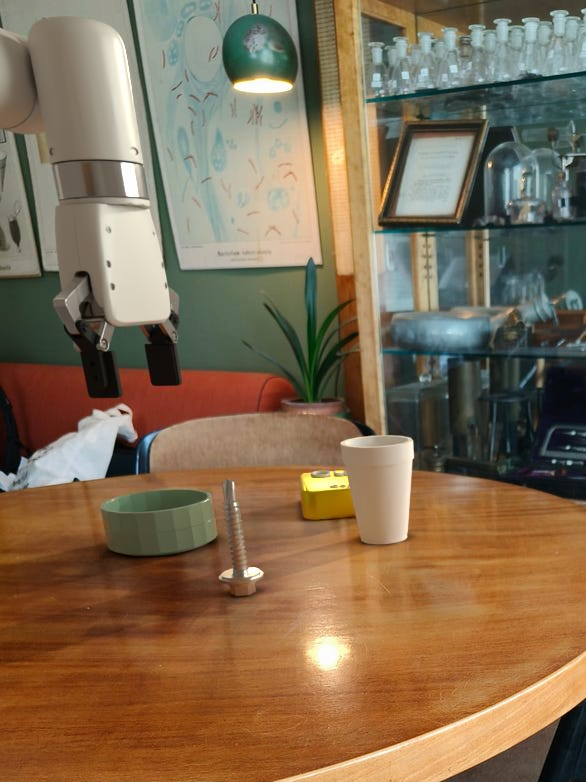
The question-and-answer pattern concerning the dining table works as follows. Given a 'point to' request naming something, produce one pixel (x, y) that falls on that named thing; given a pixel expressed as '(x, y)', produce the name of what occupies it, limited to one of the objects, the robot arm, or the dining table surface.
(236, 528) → the screw
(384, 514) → the foam cup
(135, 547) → the bowl
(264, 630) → the dining table surface
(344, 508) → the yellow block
